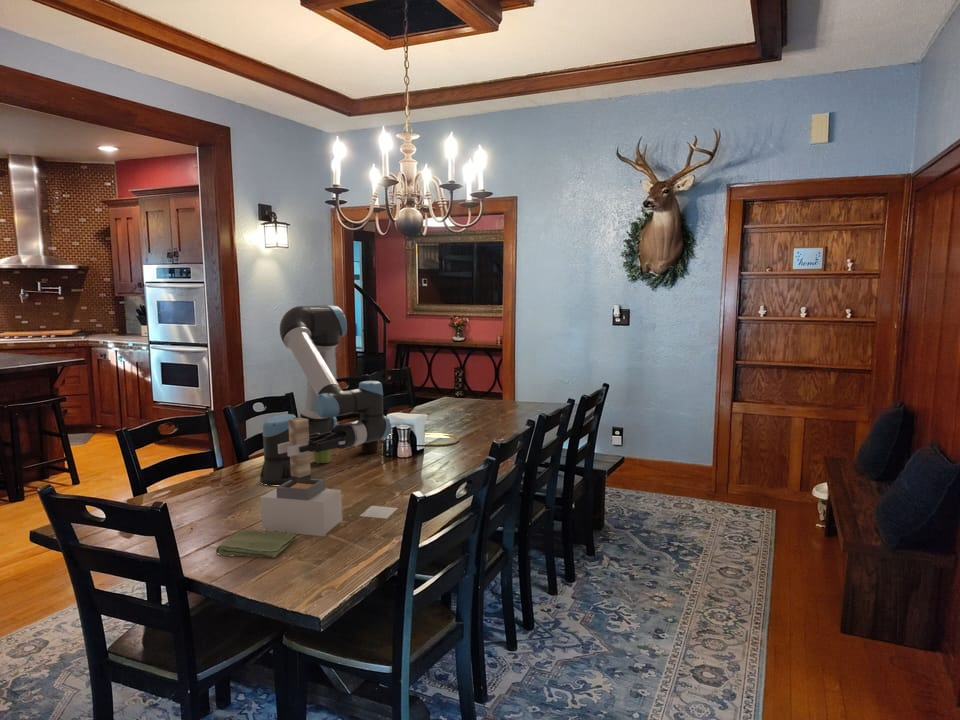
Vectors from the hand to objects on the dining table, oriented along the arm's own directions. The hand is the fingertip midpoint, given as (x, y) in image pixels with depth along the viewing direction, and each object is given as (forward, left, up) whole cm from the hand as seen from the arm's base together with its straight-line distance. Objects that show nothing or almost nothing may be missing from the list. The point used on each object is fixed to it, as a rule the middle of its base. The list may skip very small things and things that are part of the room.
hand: (283, 450), depth 177 cm
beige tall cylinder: (+2, +5, -10) cm, 11 cm away
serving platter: (+2, +108, -25) cm, 111 cm away
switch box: (+2, +5, -24) cm, 25 cm away
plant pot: (-25, +67, -24) cm, 76 cm away
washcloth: (-2, -12, -25) cm, 28 cm away
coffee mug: (-13, +87, -24) cm, 92 cm away
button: (+2, +5, -15) cm, 16 cm away
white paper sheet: (+20, +19, -24) cm, 37 cm away
